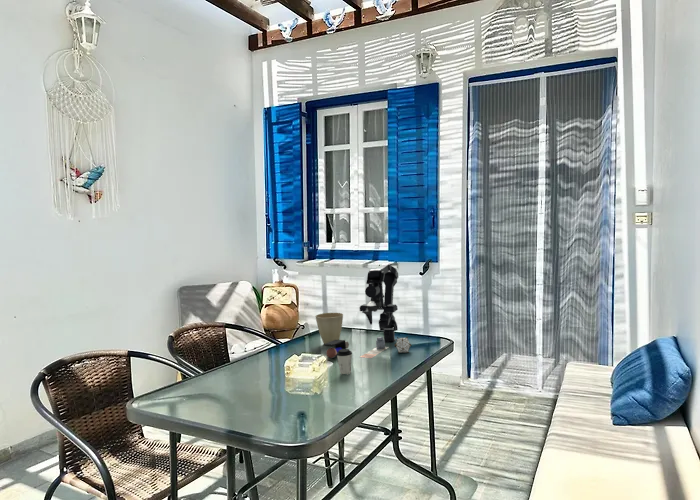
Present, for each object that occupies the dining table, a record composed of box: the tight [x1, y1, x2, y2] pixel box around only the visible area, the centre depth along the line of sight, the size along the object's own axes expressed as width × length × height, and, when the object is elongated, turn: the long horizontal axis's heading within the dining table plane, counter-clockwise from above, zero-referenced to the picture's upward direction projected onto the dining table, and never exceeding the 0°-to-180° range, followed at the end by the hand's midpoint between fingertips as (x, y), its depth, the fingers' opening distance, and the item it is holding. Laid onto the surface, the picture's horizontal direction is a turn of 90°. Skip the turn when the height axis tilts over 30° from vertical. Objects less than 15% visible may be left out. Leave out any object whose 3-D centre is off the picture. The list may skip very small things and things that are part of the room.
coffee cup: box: [336, 348, 353, 375], centre depth 216 cm, size 7×7×10 cm
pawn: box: [375, 336, 386, 350], centre depth 252 cm, size 4×4×6 cm
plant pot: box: [315, 312, 344, 344], centre depth 270 cm, size 15×15×16 cm
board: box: [359, 346, 389, 359], centre depth 246 cm, size 22×9×1 cm, turn 151°
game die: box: [394, 336, 412, 354], centre depth 242 cm, size 9×8×10 cm
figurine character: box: [322, 339, 350, 359], centre depth 247 cm, size 7×8×15 cm
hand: (379, 324), depth 251 cm, fingers open, 9 cm apart
